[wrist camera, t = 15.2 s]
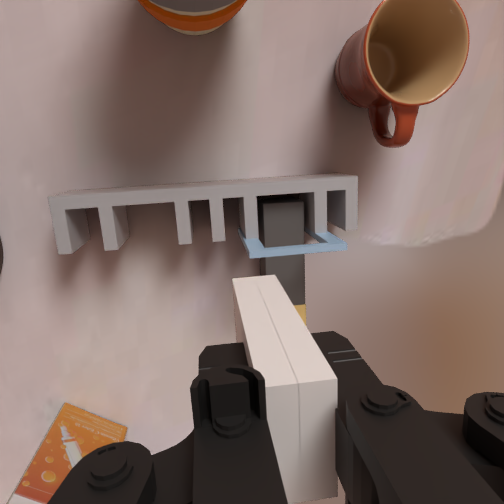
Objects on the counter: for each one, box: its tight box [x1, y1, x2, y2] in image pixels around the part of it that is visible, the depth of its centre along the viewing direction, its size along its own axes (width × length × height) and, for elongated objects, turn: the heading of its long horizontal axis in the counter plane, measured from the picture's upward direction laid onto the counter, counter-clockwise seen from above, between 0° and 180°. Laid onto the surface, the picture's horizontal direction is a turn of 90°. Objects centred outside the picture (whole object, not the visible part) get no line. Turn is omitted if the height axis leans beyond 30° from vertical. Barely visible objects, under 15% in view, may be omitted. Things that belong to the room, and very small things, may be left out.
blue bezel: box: [238, 226, 347, 259], centre depth 38 cm, size 8×1×11 cm, turn 93°
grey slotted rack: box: [48, 173, 358, 255], centre depth 39 cm, size 28×5×6 cm, turn 93°
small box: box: [7, 403, 127, 504], centre depth 40 cm, size 8×6×13 cm
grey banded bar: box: [257, 197, 306, 325], centre depth 42 cm, size 4×16×5 cm, turn 3°
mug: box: [335, 0, 469, 148], centre depth 36 cm, size 12×9×10 cm
